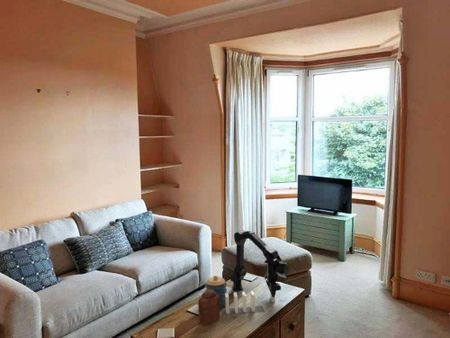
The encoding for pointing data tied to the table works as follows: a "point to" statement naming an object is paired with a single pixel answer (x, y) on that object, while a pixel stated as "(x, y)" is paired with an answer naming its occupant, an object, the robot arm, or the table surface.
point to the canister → (217, 288)
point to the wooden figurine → (209, 307)
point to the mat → (240, 310)
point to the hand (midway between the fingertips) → (272, 295)
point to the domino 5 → (272, 298)
